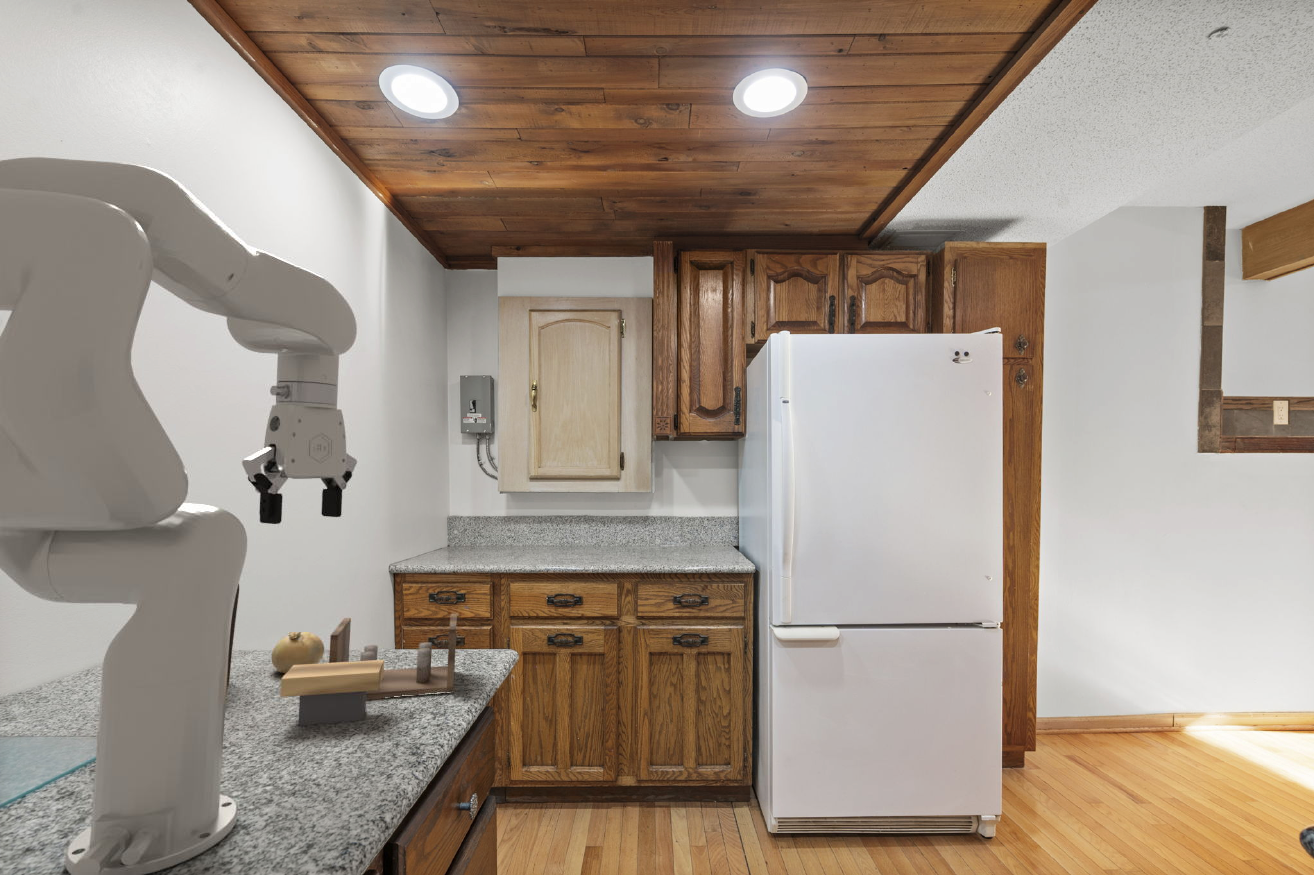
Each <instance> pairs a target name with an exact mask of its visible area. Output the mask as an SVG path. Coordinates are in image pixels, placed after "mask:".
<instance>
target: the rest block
mask: <svg viewBox="0 0 1314 875" xmlns="http://www.w3.org/2000/svg"><path fill="white" fill-rule="evenodd" d="M366 693H367V691H357V692H344V693H330V694H316V695H302V696H299V706H298V723H297V726H298V727H299V726H307V725H309V726H310V725H321V724H331V723H332V724H334V723H342V722H343V723H346V722H357V721H363V719H364V717H365V715H366V711H367V710H366V709H367V700H366Z"/></svg>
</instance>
